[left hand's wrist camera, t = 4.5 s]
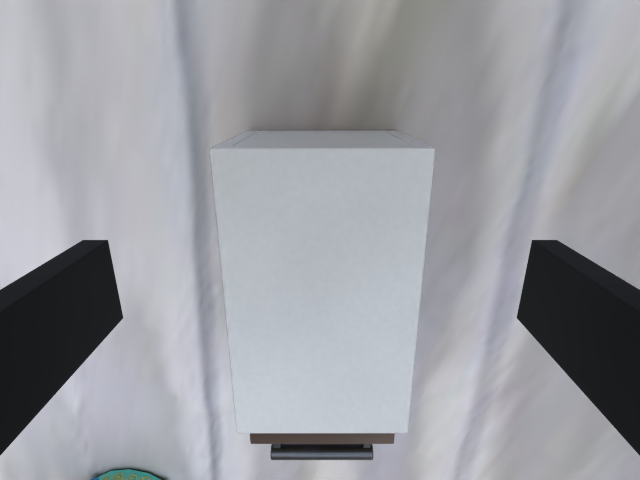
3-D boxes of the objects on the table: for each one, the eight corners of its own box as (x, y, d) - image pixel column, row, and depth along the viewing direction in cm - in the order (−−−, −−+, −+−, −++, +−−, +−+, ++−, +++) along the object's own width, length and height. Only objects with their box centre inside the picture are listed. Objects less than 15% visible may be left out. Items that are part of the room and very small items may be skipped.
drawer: (373, 416, 36) (388, 505, 28) (269, 416, 36) (255, 505, 28) (388, 175, 28) (413, 205, 21) (255, 175, 28) (230, 206, 21)
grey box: (383, 339, 34) (407, 433, 25) (260, 339, 34) (236, 433, 25) (396, 130, 28) (436, 147, 19) (246, 130, 28) (208, 148, 19)
